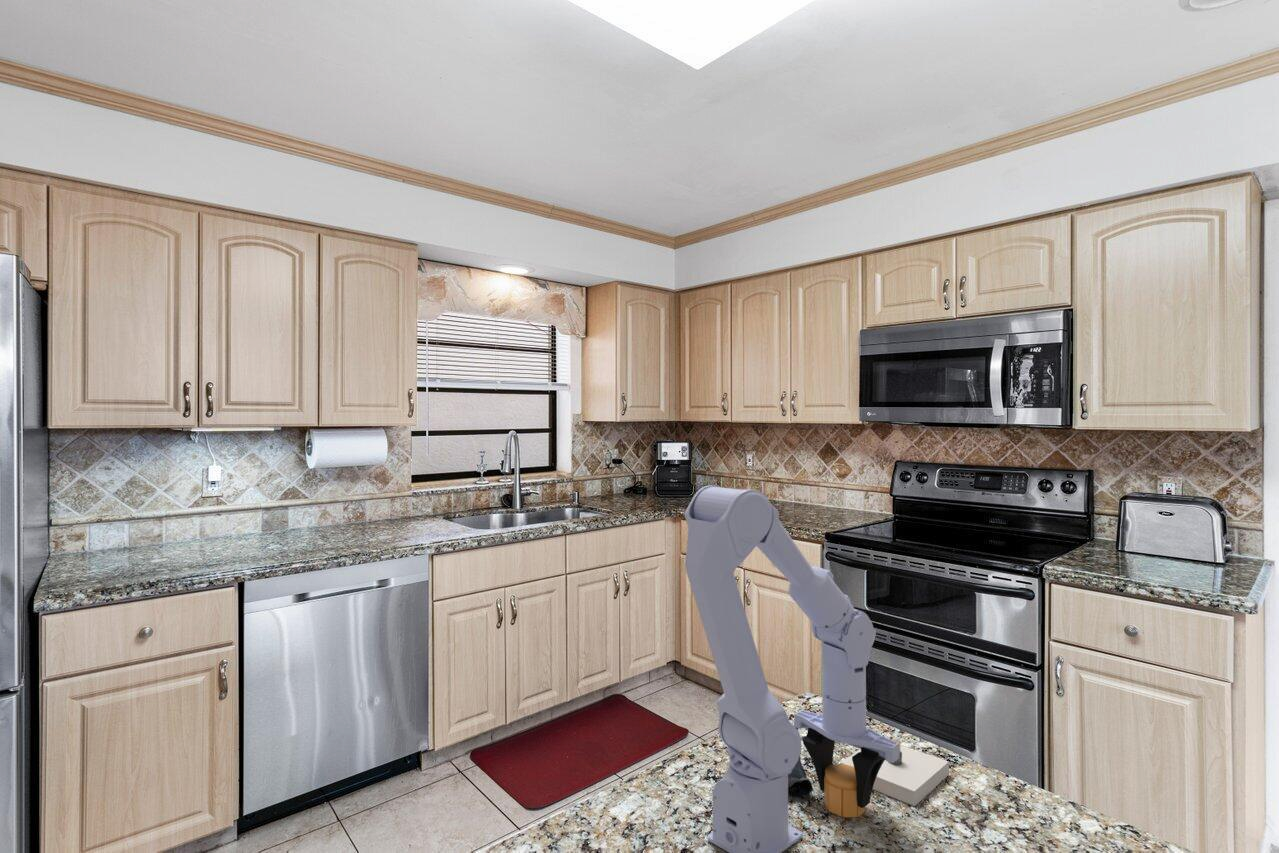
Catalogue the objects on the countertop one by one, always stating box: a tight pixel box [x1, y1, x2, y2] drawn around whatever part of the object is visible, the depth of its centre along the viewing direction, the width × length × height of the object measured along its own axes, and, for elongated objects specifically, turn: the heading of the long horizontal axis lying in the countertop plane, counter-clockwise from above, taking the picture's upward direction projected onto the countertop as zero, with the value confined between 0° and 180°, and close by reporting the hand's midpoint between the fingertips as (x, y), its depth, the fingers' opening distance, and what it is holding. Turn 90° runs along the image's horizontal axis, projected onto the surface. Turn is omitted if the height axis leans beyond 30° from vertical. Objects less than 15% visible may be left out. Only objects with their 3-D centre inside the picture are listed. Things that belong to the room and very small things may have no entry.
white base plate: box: [839, 738, 950, 807], centre depth 96 cm, size 12×11×5 cm
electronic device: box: [788, 755, 814, 798], centre depth 97 cm, size 9×6×15 cm
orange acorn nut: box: [823, 763, 866, 818], centre depth 88 cm, size 5×5×4 cm
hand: (844, 796), depth 88 cm, fingers closed on orange acorn nut, 5 cm apart
